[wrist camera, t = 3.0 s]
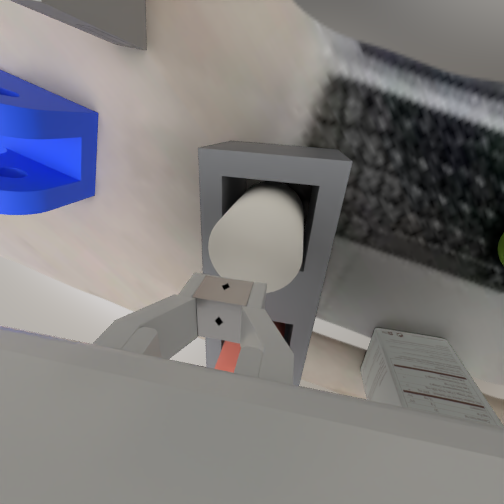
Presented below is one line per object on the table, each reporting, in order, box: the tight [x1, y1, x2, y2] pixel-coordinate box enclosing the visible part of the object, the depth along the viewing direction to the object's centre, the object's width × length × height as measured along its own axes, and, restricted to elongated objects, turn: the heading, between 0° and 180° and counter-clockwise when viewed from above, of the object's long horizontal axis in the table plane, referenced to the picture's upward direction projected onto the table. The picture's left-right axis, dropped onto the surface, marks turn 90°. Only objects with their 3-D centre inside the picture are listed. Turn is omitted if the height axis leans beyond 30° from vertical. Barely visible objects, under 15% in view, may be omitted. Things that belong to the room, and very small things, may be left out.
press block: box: [198, 141, 353, 386], centre depth 22 cm, size 9×20×8 cm, turn 176°
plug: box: [208, 181, 304, 293], centre depth 16 cm, size 5×5×6 cm
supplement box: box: [360, 328, 504, 427], centre depth 23 cm, size 7×7×13 cm
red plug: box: [214, 321, 285, 373], centre depth 21 cm, size 5×5×6 cm
